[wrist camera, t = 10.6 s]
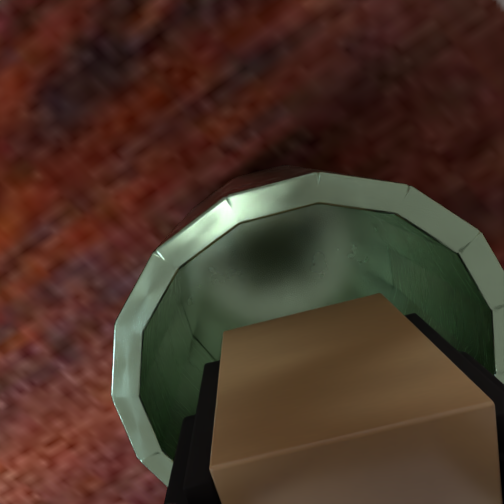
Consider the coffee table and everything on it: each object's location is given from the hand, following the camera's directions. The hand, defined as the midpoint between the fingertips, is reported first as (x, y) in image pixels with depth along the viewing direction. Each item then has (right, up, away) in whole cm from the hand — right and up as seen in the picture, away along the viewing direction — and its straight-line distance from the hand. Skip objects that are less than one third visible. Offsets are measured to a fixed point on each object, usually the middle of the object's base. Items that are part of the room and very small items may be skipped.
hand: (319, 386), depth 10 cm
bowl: (0, +2, +7) cm, 8 cm away
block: (0, 0, 0) cm, 0 cm away
